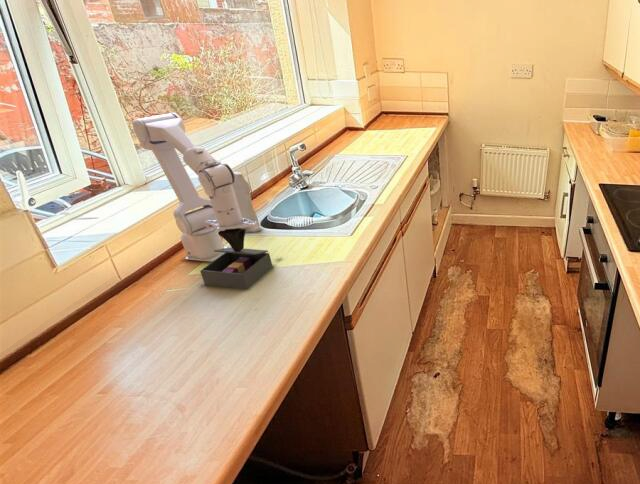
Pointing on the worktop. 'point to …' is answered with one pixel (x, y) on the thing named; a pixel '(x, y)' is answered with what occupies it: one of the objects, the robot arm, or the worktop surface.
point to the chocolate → (239, 265)
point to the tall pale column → (244, 199)
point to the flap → (242, 251)
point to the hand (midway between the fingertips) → (239, 249)
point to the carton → (236, 280)
